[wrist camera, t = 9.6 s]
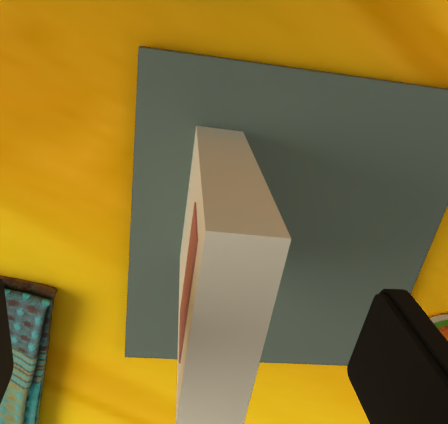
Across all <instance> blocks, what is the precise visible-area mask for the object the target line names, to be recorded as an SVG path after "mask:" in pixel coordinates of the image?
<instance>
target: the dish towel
mask: <svg viewBox="0 0 448 424" xmlns="http://www.w3.org/2000/svg"><path fill="white" fill-rule="evenodd" d="M0 279H1V280H3V283H4V289H5V297H6V305H7V313H8V321H9V329H10V337H11V345H12V353H13V361H14V366H13V373H12V377H11V379H10V382H9V384H8V387H7V389H6V392H5V394H4V397H3V399H2V402H1V404H0V424H38V420H39V405H40V400H41V394H42V387H43V380H44V374H45V367H46V361H47V352H48V346H49V339H50V326H51V318H52V309H53V302H54V297H55V293H56V292H57V291H58V290H57V289H56V288H53V287H50V286H47V285H43V284H39V283H34V282H29V281H25V280H20V279H15V278H8V277H5V276H0Z"/></svg>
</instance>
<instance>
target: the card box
mask: <svg viewBox="0 0 448 424" xmlns="http://www.w3.org/2000/svg"><path fill="white" fill-rule="evenodd" d="M290 242H291V237H290V234H289V232H288V230H287V228H286V226H285V223H284V221H283V219H282V217H281V215H280V212H279V210H278V208H277V206H276V203H275V201H274V199H273V197H272V195H271V192H270V190H269V188H268V186H267V184H266V181H265V179H264V177H263V175H262V172H261V170H260V168H259V166H258V164H257V161H256V159H255V157H254V155H253V152H252V150H251V148H250V146H249V144H248V141H247V139H246V137H245V135H244V133H243V132H242V131H234V130H227V129H219V128H211V127H203V126H196V132H195V140H194V148H193V156H192V164H191V172H190V180H189V188H188V196H187V204H186V212H185V220H184V228H183V236H182V244H181V252H180V275H179V319H178V363H177V407H176V424H244V421H245V417H246V413H247V409H248V405H249V401H250V397H251V393H252V390H253V386H254V382H255V378H256V374H257V370H258V366H259V362H260V359H261V355H262V351H263V347H264V343H265V339H266V335H267V331H268V328H269V324H270V320H271V316H272V312H273V308H274V304H275V300H276V297H277V293H278V289H279V285H280V281H281V277H282V273H283V269H284V266H285V262H286V258H287V254H288V250H289V246H290Z"/></svg>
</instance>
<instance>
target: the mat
mask: <svg viewBox="0 0 448 424" xmlns="http://www.w3.org/2000/svg"><path fill="white" fill-rule="evenodd" d="M196 126H203V127H211V128H219V129H227V130H234V131H242V132H243V133H244V135H245V137H246V139H247V141H248V144H249V146H250V148H251V150H252V152H253V155H254V157H255V159H256V161H257V164H258V166H259V168H260V170H261V172H262V175H263V177H264V179H265V181H266V184H267V186H268V188H269V190H270V192H271V195H272V197H273V199H274V201H275V203H276V206H277V208H278V210H279V212H280V215H281V217H282V219H283V221H284V223H285V226H286V228H287V230H288V232H289V234H290V237H291V242H290V246H289V250H288V254H287V258H286V262H285V266H284V269H283V273H282V277H281V281H280V285H279V289H278V293H277V297H276V300H275V304H274V308H273V312H272V316H271V320H270V324H269V328H268V331H267V335H266V339H265V343H264V347H263V351H262V355H261V359H260V362H266V363H292V364H318V365H344V366H348V363H349V360H350V358H351V355H352V352H353V350H354V347H355V345H356V342H357V340H358V337H359V334H360V332H361V329H362V327H363V324H364V321H365V319H366V316H367V314H368V311H369V309H370V306H371V303H372V301H373V298H374V296H375V295H376V294H379V293H380V291H381V290H383V289H404V290H407V291H408V292H409V293H410V294H411V292H412V289H413V287H414V284H415V282H416V280H417V277H418V275H419V272H420V270H421V268H422V265H423V263H424V260H425V258H426V256H427V253H428V251H429V248H430V246H431V243H432V241H433V239H434V236H435V234H436V231H437V229H438V227H439V224H440V222H441V219H442V217H443V215H444V212H445V210H446V207H447V205H448V89H445V88H437V87H430V86H423V85H416V84H409V83H402V82H394V81H387V80H380V79H373V78H366V77H359V76H351V75H344V74H337V73H330V72H323V71H316V70H308V69H301V68H294V67H287V66H280V65H272V64H265V63H258V62H251V61H244V60H237V59H229V58H222V57H215V56H208V55H201V54H194V53H186V52H179V51H172V50H165V49H158V48H151V47H143V46H140V47H139V54H138V76H137V98H136V120H135V142H134V164H133V186H132V208H131V229H130V251H129V273H128V295H127V317H126V339H125V357H137V358H163V359H178V319H179V275H180V252H181V244H182V236H183V228H184V220H185V212H186V204H187V196H188V188H189V180H190V172H191V164H192V156H193V148H194V140H195V132H196Z"/></svg>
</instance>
